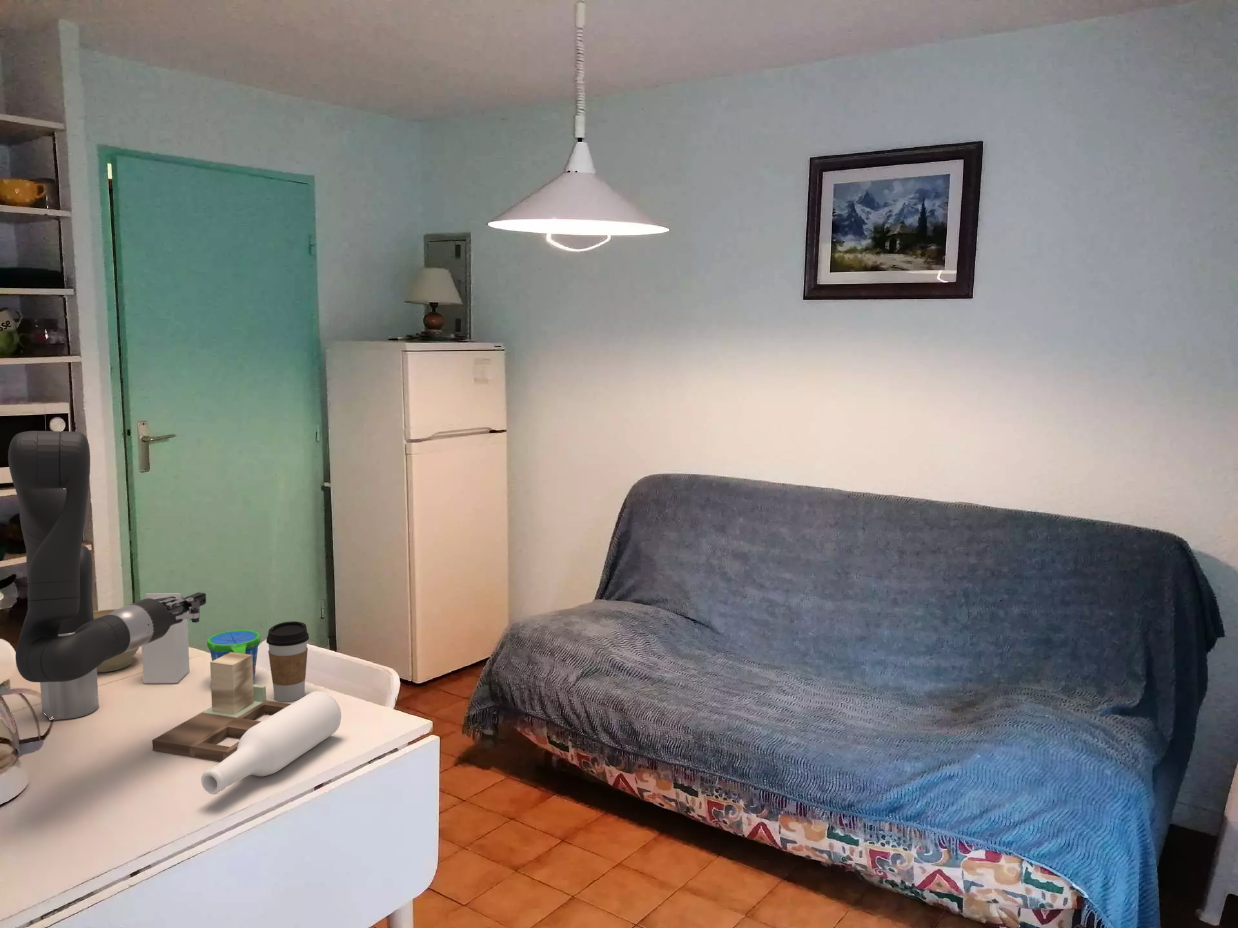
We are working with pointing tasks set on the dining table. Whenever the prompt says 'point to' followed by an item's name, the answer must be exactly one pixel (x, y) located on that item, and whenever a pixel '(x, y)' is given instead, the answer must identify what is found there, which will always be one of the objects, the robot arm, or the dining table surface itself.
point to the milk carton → (167, 652)
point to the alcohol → (277, 741)
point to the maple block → (232, 683)
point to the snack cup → (234, 644)
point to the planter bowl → (117, 661)
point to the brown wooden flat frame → (212, 733)
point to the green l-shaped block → (258, 699)
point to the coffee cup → (288, 659)
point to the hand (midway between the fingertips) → (202, 597)
